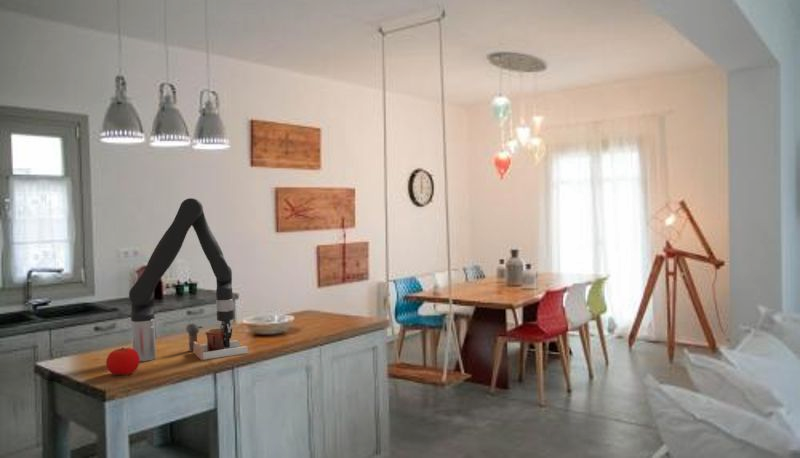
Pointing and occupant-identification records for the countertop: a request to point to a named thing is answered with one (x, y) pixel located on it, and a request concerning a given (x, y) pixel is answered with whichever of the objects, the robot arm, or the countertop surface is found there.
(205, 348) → the tray
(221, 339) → the mug
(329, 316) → the countertop surface
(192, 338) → the winch prop
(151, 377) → the countertop surface
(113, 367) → the tomato
